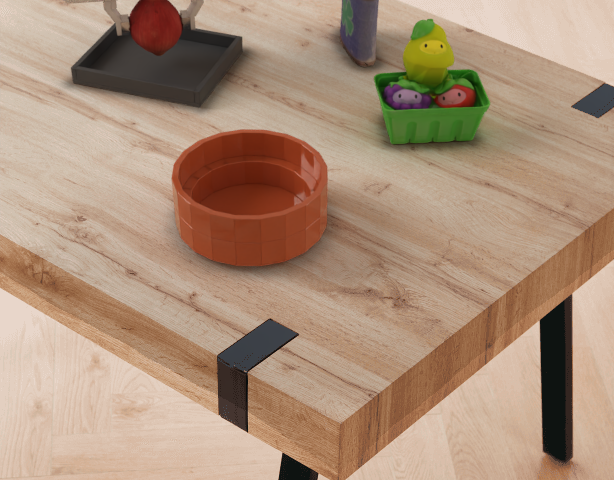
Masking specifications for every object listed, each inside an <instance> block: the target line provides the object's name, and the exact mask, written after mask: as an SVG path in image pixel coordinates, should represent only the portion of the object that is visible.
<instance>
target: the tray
mask: <svg viewBox="0 0 614 480" xmlns="http://www.w3.org/2000/svg"><path fill="white" fill-rule="evenodd" d="M129 16H130V15H128V17H129ZM243 48H244V47H243V36H241V35H236V34H230V33H224V32H219V31H213V30H208V29H203V28H196V27H195V30H185V31H182V33H181V36H180V38H179V40H178V41H177V43H176V44H175V45H174V46H173V47H172V48H171V49H169V50H168V51H166V52H165V53H164V54H163V55H161V56H156V55H154V54H153V53H151V52H148V51H146V50H145V49H143V48H142V47H141V46H139V45H138V44H137V43H136V42H135V41H134V40H133V39H132V36H131V35H122V36H118V35H117V29H116V22H113V24H112V25H111V26H110V27H109V28H108V29H107V30H106V31H105V32H104V33H103V34H102V35H101V36H100V37H99V38H98V39H97V40H96V41H95V42H94V44H92V45H91V46H90V47H89V49H87V50H86V52H85V53H84V54H83V55H81V57H80V58H78V60H77V61H75V62H74V64H73V65H72V66H71V67H70V71H71V79H72V83H73V84H76V85H81V86H85V87H90V88H96V89H100V90H101V89H102V90H106V91H112V92H117V93H122V94H127V95H132V96H138V97H144V98H148V99H153V100H158V101H164V102H169V103H174V104H180V105H183V106H184V105H185V106H189V107H195V108H198V109H199V108H201V107H202V106H203V105H204V104H205V102H206V101H207V99H208V98H209V97H210V96H211V95H212V93H213V92H214V90H215V89H216V88H217V86H218V85H219V83H220V82H221V81H223V78H224V77H225V76H226V75H227V73H228V72H229V70H230V69H231V68H232V66H233V65H234V64H235V63H236V61H237V60H238V59H239V58H240V56H241V55H242V53H243V52H244V49H243Z"/></svg>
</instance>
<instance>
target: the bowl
mask: <svg viewBox="0 0 614 480" xmlns="http://www.w3.org/2000/svg"><path fill="white" fill-rule="evenodd" d="M328 175H329V174H328V165H327V163H326V161H325V160H324V158H323V156H322V154H321V153H320V152H319V151H318V150H317V149H316V148H314V147H313V146H311V145H310V144H309V143H308V142H306V141H305V140H303V139H300V138H298V137H295V136H293V135H290V134H288V133H285V132H284V133H283V132H279V131H274V130H269V129H257V128H256V129H253V128H252V129H250V128H249V129H248V128H247V129H245V128H244V129H235V130H229V131H221V132H218V133H215V134H212V135H210V136H206V137H204V138H200V139H199V140H197V141H196V142H194V143H193V144H191V145H190V146H188V147H187V148H186V149H184V150H182V152H181V153H180V154H179V156H178V158H177V159H176V160H175V161H174V163H173V165H172V172H171V179H170V180H171V188H172V199H173V210H174V220H175V226H176V229H177V232H178V234H179V237H180V239H181V240H182V241H183V243H185V244H186V245H187V246H188V247H189V248H190V249H191V250H192V251H193V252H194V253H196V254H198V255H201V256H202V257H204V258H207V259H209V260H211V261H213V262H217V263H222V264H226V265H231V266H235V267H236V266H237V267H263V266H269V265H274V264H275V265H276V264H279V263H284V262H285V263H286V262H287V261H289V260H292V259H294V258H296V257H299V256H301V255H303V254H305V253H306V252H307V251H309V250H311V248H312V247H313V246H314V245H316V244H317V243H319V241H320V240H321V238H322V236H323V234H324V232H325V230H326V228H327V225H328V191H329V190H328V188H329V187H328V186H329V184H328V183H329V177H328Z"/></svg>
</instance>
